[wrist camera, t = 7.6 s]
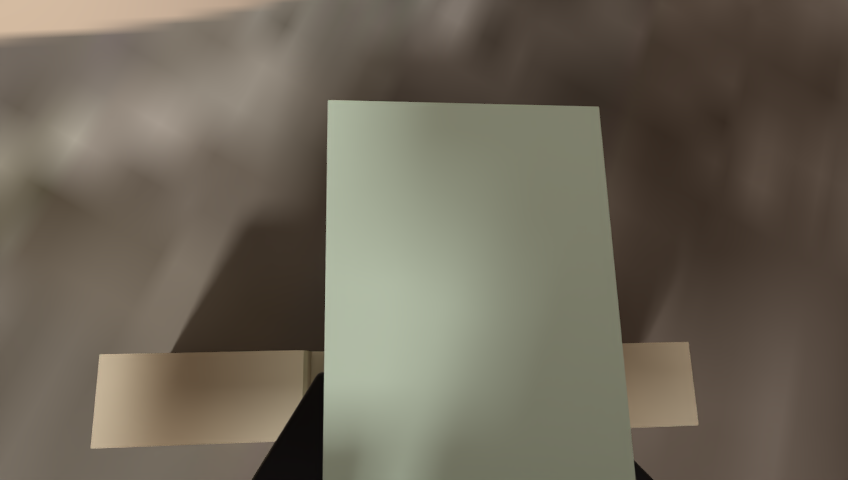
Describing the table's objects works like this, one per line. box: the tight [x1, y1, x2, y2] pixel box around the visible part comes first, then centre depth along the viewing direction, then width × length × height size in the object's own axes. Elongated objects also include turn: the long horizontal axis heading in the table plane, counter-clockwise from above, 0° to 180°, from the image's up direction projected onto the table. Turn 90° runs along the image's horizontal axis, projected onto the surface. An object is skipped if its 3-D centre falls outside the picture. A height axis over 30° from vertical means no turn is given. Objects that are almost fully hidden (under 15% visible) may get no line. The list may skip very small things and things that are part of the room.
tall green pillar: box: [323, 100, 636, 480], centre depth 11 cm, size 7×3×11 cm, turn 1°
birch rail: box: [91, 342, 698, 449], centre depth 15 cm, size 14×2×4 cm, turn 91°
